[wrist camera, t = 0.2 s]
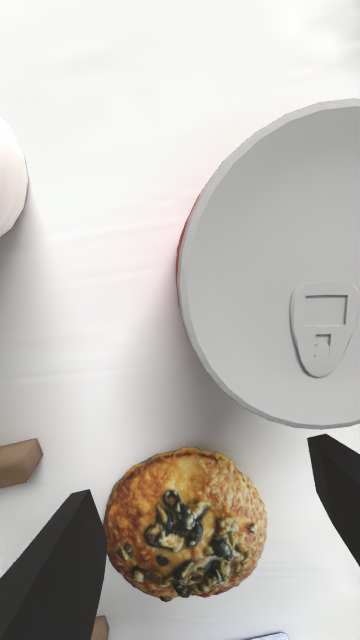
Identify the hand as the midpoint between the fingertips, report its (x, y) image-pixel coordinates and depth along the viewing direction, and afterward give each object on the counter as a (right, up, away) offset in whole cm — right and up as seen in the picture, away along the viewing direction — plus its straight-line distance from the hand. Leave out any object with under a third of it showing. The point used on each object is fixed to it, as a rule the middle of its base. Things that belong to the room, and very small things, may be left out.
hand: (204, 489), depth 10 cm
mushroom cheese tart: (0, -8, +12) cm, 15 cm away
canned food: (+3, +9, +8) cm, 12 cm away
